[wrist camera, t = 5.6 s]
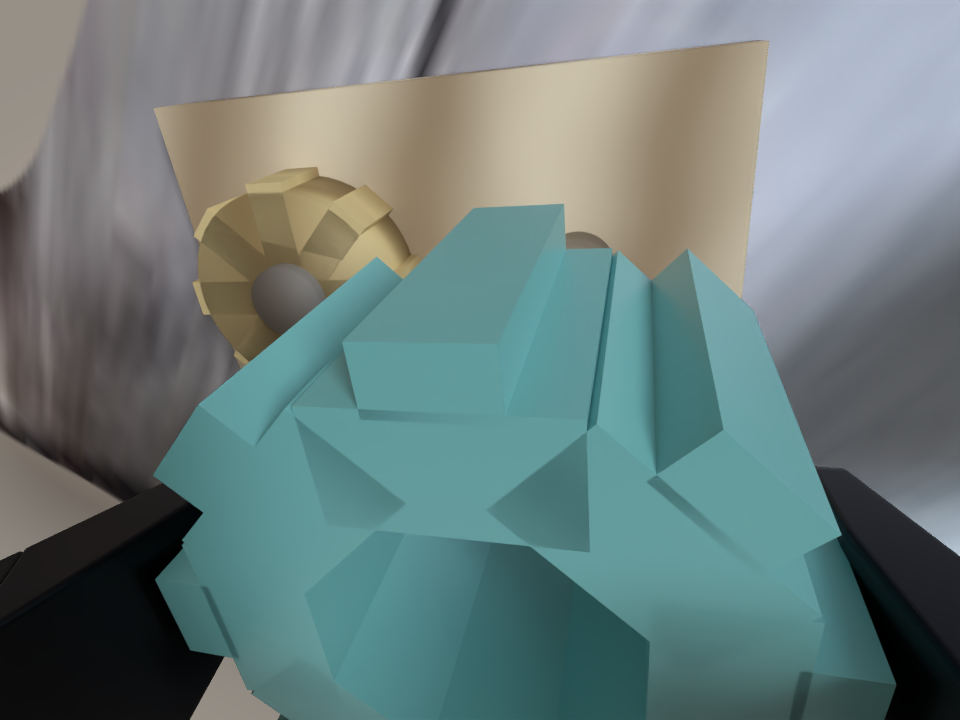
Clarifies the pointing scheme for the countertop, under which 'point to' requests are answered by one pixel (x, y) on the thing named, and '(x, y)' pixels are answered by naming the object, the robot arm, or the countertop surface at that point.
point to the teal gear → (519, 502)
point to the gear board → (464, 172)
